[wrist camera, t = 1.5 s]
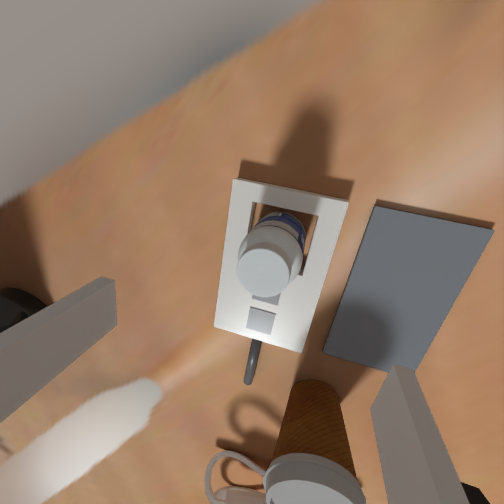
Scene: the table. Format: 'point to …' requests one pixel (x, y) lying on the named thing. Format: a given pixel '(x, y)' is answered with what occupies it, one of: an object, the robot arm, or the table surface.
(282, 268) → the pill bottle
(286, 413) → the disposable coffee cup
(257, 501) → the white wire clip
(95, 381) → the table surface
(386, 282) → the rubber mat
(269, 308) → the socket strip
